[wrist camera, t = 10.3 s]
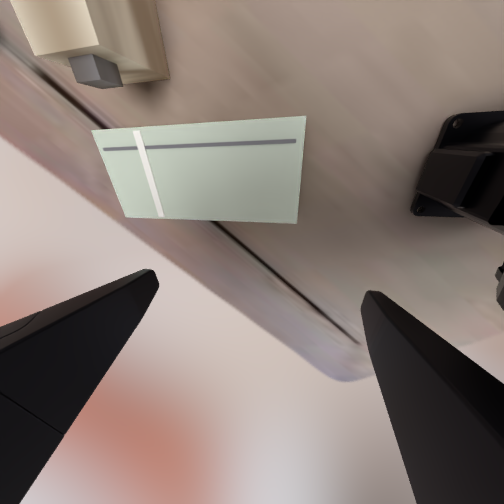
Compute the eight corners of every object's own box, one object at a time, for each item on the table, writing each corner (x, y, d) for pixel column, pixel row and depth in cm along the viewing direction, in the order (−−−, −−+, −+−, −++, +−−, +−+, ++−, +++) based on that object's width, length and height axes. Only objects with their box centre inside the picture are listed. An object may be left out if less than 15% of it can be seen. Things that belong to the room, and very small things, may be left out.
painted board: (304, 119, 13) (306, 115, 11) (296, 213, 17) (296, 224, 15) (117, 131, 17) (89, 130, 14) (143, 209, 20) (125, 217, 18)
